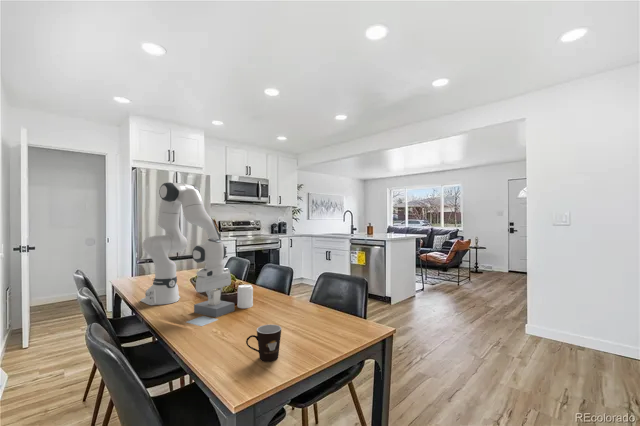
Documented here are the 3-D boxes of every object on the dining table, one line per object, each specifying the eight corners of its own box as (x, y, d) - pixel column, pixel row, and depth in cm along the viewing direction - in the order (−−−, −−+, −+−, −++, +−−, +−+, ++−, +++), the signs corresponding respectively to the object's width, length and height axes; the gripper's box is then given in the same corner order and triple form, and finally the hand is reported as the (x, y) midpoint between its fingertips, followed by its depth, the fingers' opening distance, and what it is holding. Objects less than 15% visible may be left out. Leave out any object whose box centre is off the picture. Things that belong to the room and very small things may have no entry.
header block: (193, 314, 152) (194, 304, 152) (212, 308, 162) (212, 299, 162) (216, 319, 144) (216, 309, 144) (234, 312, 154) (234, 302, 154)
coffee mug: (282, 351, 109) (282, 324, 109) (280, 363, 100) (280, 333, 100) (250, 352, 108) (250, 324, 109) (245, 363, 100) (245, 333, 100)
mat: (185, 324, 137) (185, 322, 137) (203, 317, 146) (203, 315, 146) (201, 328, 132) (201, 326, 132) (219, 321, 141) (219, 319, 141)
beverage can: (254, 305, 166) (254, 284, 167) (249, 310, 158) (250, 287, 159) (240, 305, 167) (240, 284, 167) (235, 309, 159) (235, 287, 159)
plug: (208, 310, 152) (208, 291, 152) (214, 308, 156) (214, 289, 156) (213, 311, 150) (214, 292, 151) (220, 309, 154) (220, 290, 154)
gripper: (225, 267, 164) (225, 292, 164) (193, 272, 146) (193, 301, 146) (233, 268, 161) (233, 293, 161) (202, 274, 143) (202, 303, 143)
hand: (214, 297), depth 153 cm, fingers closed on plug, 4 cm apart
